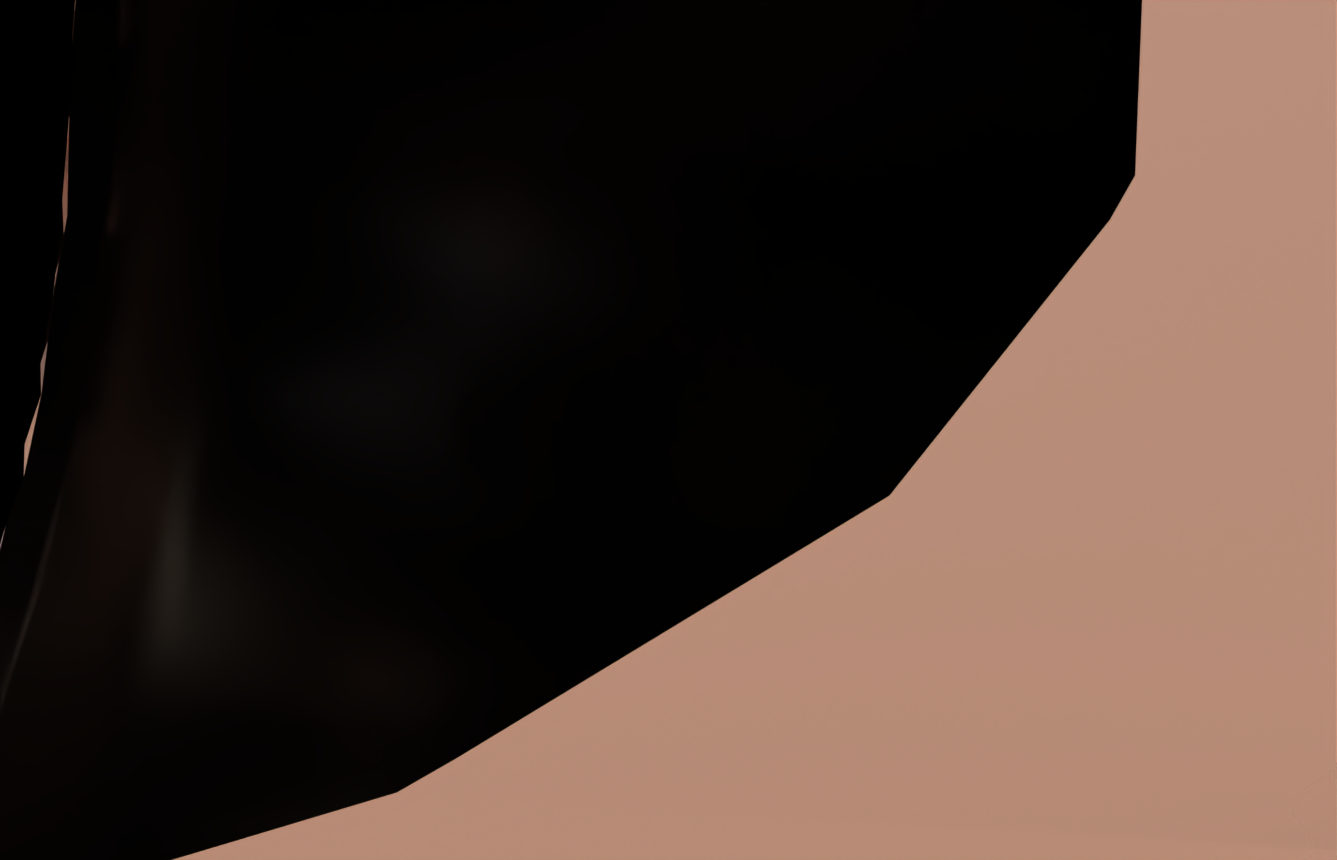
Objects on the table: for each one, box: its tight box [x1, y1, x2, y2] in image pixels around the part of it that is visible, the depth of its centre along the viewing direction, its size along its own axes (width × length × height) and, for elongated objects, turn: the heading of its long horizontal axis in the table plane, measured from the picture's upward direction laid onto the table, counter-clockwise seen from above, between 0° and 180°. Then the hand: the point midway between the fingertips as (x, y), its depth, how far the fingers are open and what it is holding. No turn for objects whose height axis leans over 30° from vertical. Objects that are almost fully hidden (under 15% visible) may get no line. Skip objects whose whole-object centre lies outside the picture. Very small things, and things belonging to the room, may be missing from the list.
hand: (835, 550), depth 44 cm, fingers open, 13 cm apart
